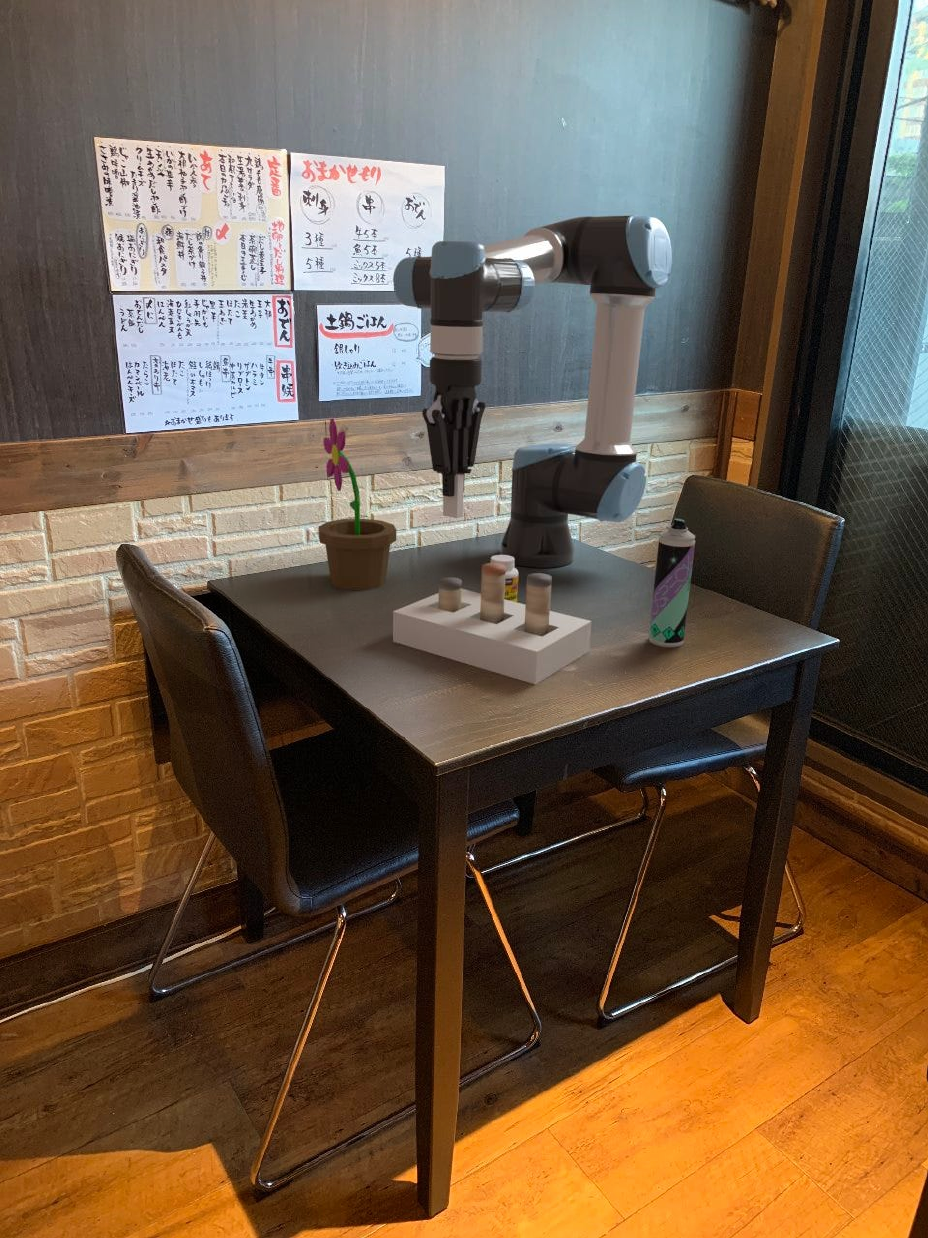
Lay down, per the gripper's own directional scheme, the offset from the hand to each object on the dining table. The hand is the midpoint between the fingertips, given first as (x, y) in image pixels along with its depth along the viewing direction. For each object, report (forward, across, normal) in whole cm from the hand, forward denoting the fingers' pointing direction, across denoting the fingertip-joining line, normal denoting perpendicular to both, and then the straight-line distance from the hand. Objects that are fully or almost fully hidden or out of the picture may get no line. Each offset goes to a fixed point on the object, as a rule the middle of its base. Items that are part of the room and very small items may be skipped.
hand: (452, 515), depth 142 cm
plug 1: (+19, 0, 0) cm, 19 cm away
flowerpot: (+20, -11, -29) cm, 37 cm away
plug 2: (+15, 0, +8) cm, 17 cm away
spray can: (+20, -20, +28) cm, 40 cm away
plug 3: (+16, 0, +16) cm, 22 cm away
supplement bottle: (+20, -12, +1) cm, 23 cm away
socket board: (+19, 0, +8) cm, 21 cm away
